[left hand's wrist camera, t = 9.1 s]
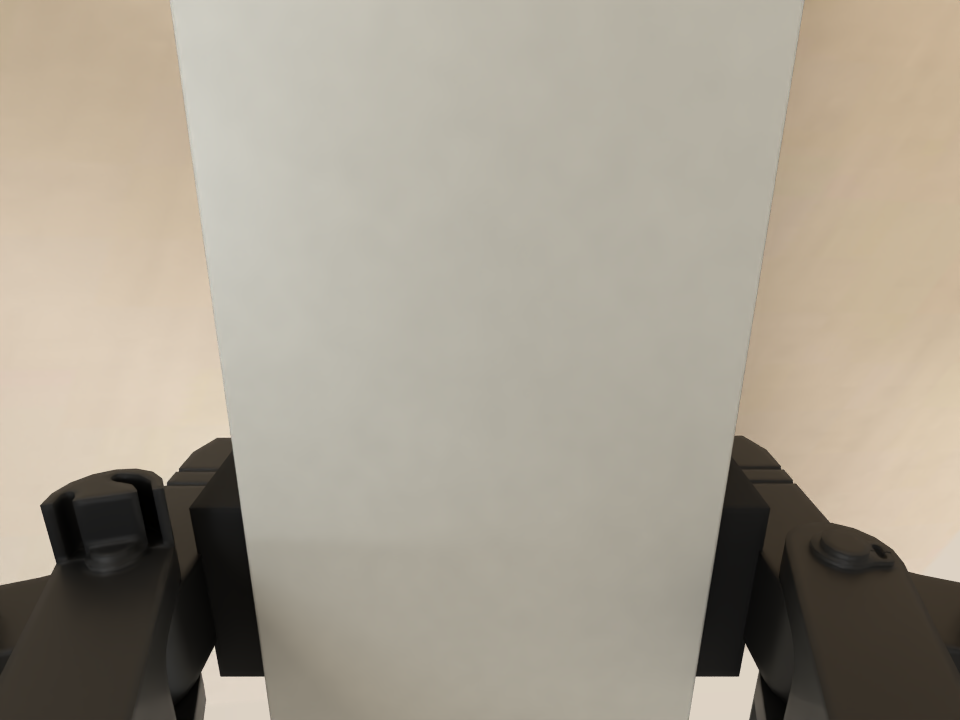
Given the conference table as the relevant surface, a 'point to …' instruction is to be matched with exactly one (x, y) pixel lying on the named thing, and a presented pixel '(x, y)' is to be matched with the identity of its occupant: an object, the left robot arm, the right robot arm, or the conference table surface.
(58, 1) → the conference table surface
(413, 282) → the beam
